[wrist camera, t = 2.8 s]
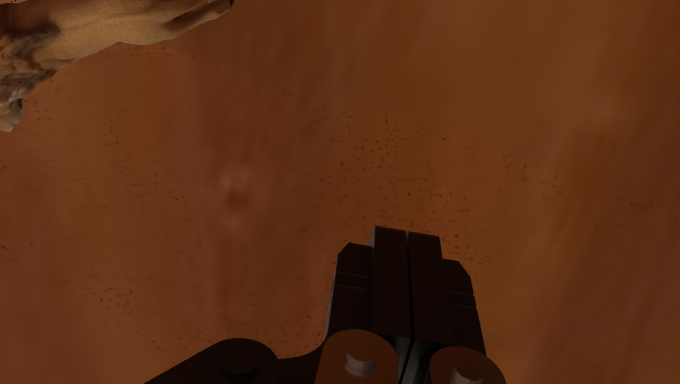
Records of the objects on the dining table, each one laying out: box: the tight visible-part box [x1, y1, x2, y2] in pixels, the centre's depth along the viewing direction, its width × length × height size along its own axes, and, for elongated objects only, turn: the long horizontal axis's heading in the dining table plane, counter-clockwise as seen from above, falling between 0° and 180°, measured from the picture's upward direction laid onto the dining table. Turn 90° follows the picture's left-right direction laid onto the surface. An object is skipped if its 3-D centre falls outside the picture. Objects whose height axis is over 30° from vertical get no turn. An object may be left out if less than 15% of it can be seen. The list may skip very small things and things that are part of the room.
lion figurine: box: [0, 0, 230, 132], centre depth 23 cm, size 12×4×7 cm, turn 114°
